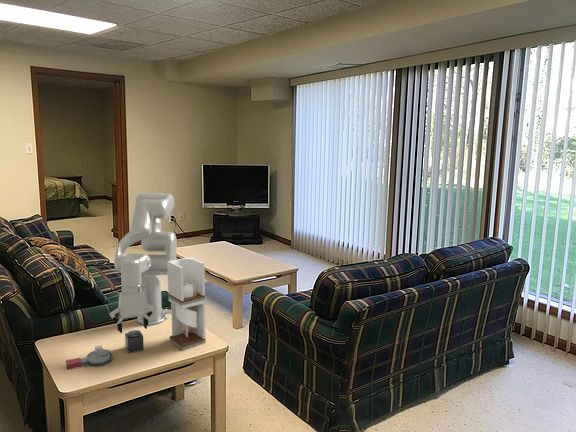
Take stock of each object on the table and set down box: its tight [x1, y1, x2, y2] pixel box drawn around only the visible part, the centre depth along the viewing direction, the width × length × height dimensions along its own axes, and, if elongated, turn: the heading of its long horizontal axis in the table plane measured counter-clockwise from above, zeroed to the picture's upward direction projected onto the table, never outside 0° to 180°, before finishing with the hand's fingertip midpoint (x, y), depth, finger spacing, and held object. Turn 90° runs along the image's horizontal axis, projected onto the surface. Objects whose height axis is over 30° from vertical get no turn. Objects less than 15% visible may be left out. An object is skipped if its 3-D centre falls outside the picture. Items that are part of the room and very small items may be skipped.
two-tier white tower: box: [167, 256, 207, 351], centre depth 191 cm, size 11×11×35 cm
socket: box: [124, 329, 145, 354], centre depth 187 cm, size 6×6×7 cm
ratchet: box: [65, 344, 113, 371], centre depth 175 cm, size 16×9×6 cm, turn 120°
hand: (133, 329), depth 185 cm, fingers open, 9 cm apart
